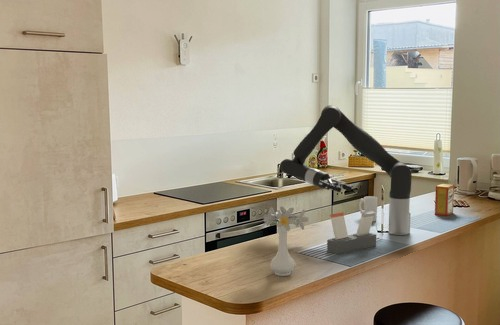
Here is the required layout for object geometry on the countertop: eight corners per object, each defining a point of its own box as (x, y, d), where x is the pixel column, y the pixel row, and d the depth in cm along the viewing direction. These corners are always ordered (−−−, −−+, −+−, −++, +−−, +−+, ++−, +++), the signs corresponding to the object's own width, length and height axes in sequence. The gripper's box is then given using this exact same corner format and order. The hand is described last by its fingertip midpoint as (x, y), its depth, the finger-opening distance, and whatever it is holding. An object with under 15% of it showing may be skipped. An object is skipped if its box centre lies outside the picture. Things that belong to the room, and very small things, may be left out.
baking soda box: (446, 216, 304) (448, 186, 302) (434, 214, 308) (435, 185, 306) (452, 213, 311) (454, 184, 309) (441, 211, 315) (442, 183, 313)
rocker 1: (345, 237, 243) (340, 212, 244) (348, 236, 241) (343, 212, 243) (335, 239, 240) (330, 214, 241) (337, 239, 238) (332, 214, 240)
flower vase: (312, 271, 214) (313, 206, 211) (279, 283, 202) (279, 214, 198) (286, 263, 224) (286, 201, 220) (253, 274, 211) (253, 208, 208)
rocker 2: (366, 232, 249) (372, 210, 245) (368, 234, 248) (374, 212, 244) (356, 234, 246) (362, 212, 242) (358, 236, 245) (364, 214, 241)
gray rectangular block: (366, 242, 253) (366, 230, 253) (376, 245, 248) (376, 233, 248) (327, 251, 241) (327, 238, 240) (336, 254, 236) (337, 241, 235)
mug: (379, 219, 296) (379, 197, 295) (373, 222, 291) (373, 199, 289) (361, 217, 302) (362, 195, 301) (355, 219, 297) (356, 197, 296)
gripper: (310, 170, 258) (339, 182, 247) (327, 170, 268) (356, 181, 258) (306, 186, 259) (335, 198, 249) (323, 185, 270) (352, 196, 260)
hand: (345, 189), depth 254 cm, fingers open, 8 cm apart
